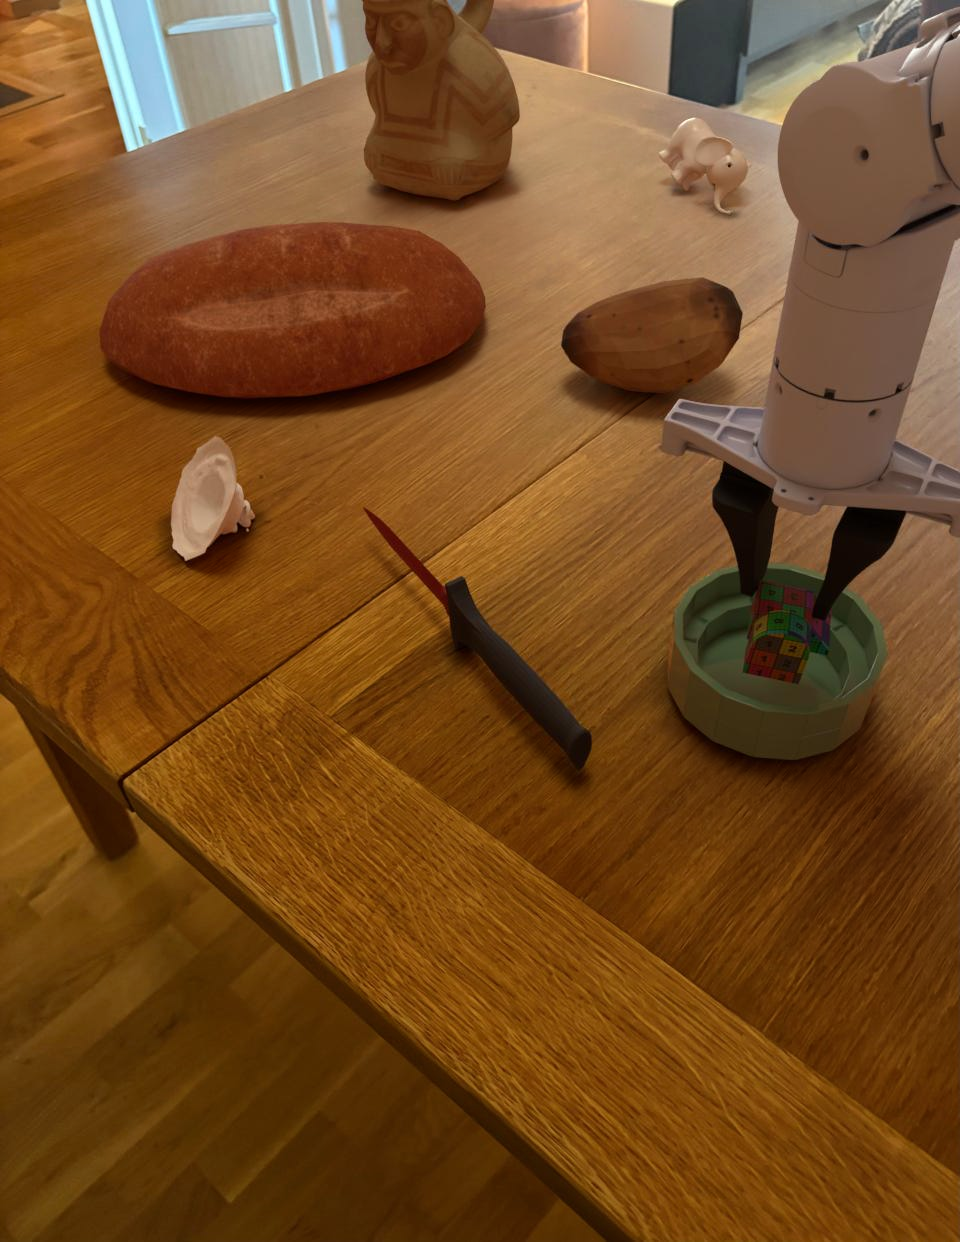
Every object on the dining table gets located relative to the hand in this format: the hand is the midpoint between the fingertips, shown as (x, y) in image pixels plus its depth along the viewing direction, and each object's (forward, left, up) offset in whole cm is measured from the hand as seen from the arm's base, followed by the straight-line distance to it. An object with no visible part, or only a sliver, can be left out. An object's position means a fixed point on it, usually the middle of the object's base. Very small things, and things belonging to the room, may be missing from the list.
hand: (787, 594), depth 53 cm
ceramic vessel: (+52, -52, -8) cm, 74 cm away
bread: (+47, -19, -8) cm, 51 cm away
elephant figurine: (+26, -59, -8) cm, 65 cm away
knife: (+17, +5, -8) cm, 19 cm away
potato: (+18, -25, -8) cm, 32 cm away
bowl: (0, 0, -7) cm, 7 cm away
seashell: (+37, +4, -8) cm, 38 cm away
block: (-1, +1, -2) cm, 2 cm away
